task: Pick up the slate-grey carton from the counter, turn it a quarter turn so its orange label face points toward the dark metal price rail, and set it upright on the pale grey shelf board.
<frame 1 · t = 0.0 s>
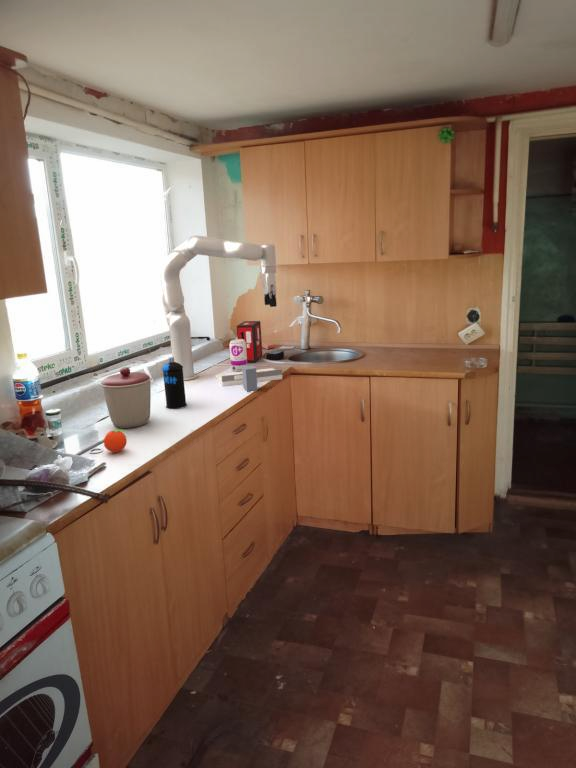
hand: (270, 305, 279), 31 cm above the worktop, tool pointing down, fingers open, 9 cm apart
canister: (131, 424, 207), on the worktop
clementine: (118, 451, 180), on the worktop
supplement can: (239, 370, 286), on the worktop
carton: (250, 389, 246), on the worktop
shelf board: (249, 378, 266), on the worktop
cleaning product box: (251, 360, 308), on the worktop
aerosol can: (176, 406, 227), on the worktop
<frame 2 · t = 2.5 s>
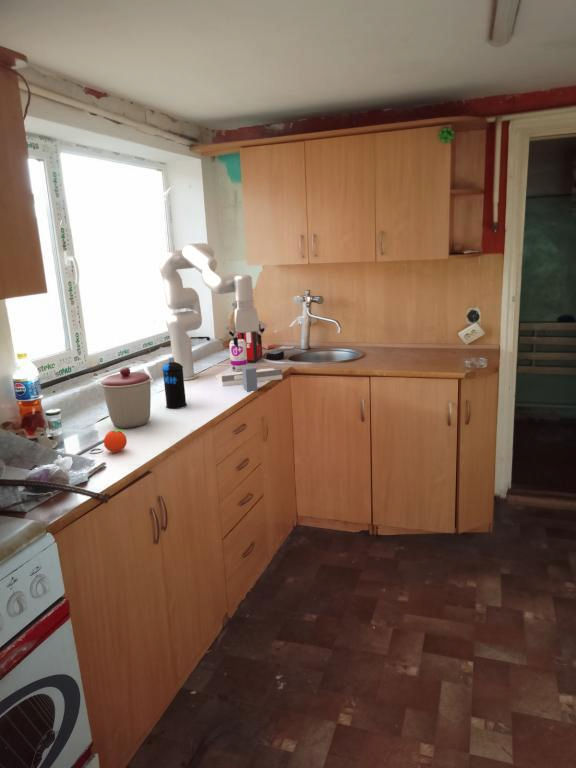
hand: (247, 345, 241), 20 cm above the worktop, tool pointing down, fingers open, 9 cm apart
nothing on the worktop moved.
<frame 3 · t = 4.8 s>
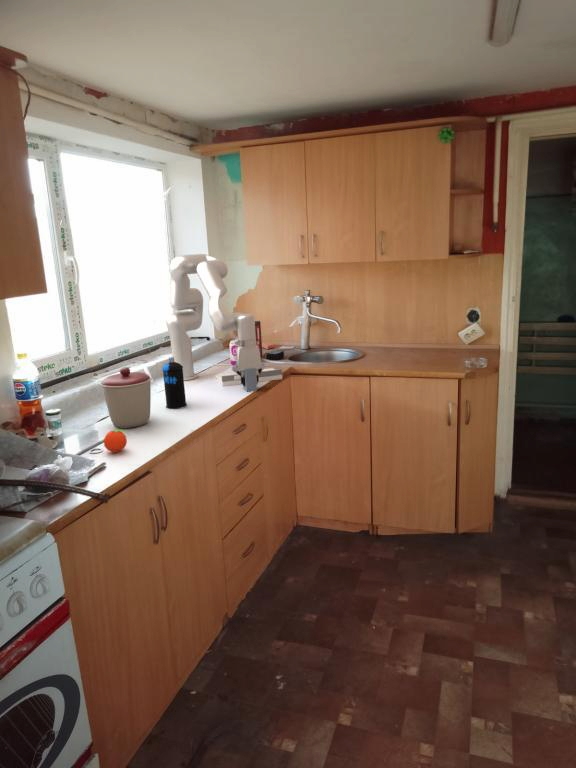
hand: (250, 384, 246), 2 cm above the worktop, tool pointing down, fingers closed on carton, 4 cm apart
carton: (250, 389, 246), on the worktop, touching gripper
everything else where it was.
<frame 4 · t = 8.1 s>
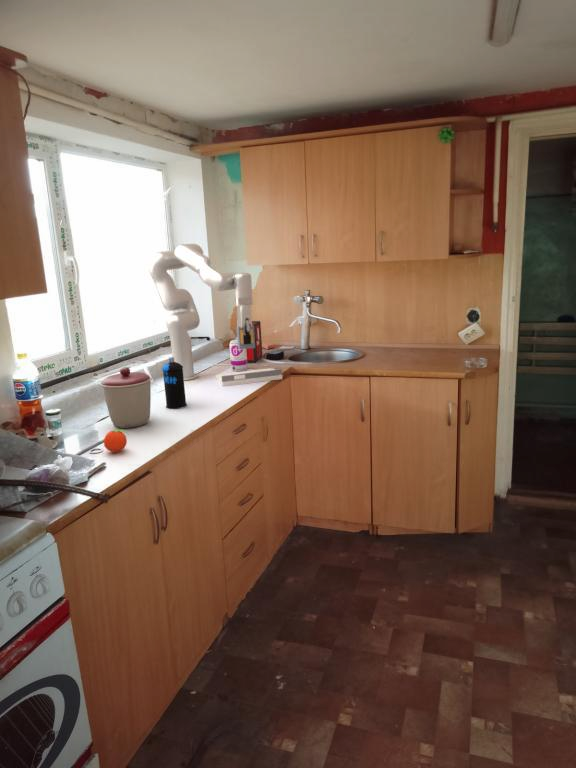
hand: (246, 342, 253), 19 cm above the worktop, tool pointing down, fingers closed on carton, 4 cm apart
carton: (246, 347, 253), point 16 cm above the worktop, touching gripper
everything else where it was.
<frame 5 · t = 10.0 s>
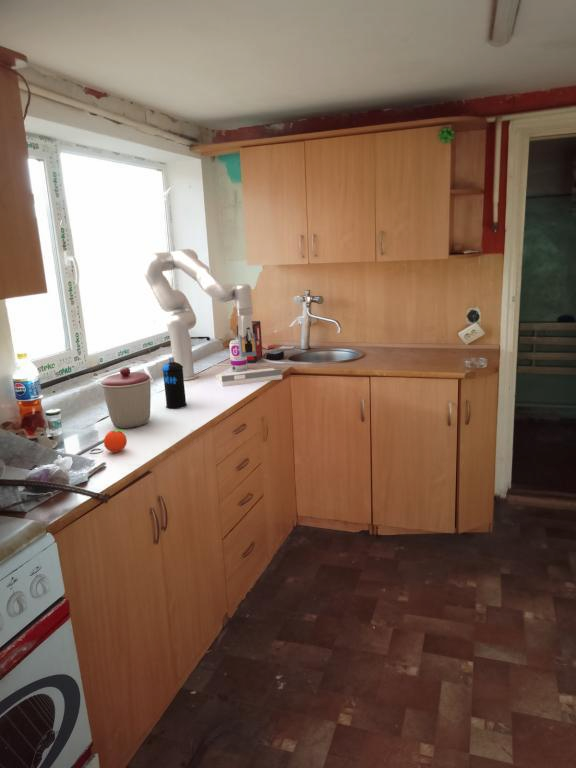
hand: (247, 350, 263), 13 cm above the worktop, tool pointing down, fingers closed on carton, 4 cm apart
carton: (248, 355, 263), point 11 cm above the worktop, touching gripper
everything else where it was.
when the fingers open (6 cm above the worktop, at t = 11.7 s): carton drops 1 cm, resting on shelf board.
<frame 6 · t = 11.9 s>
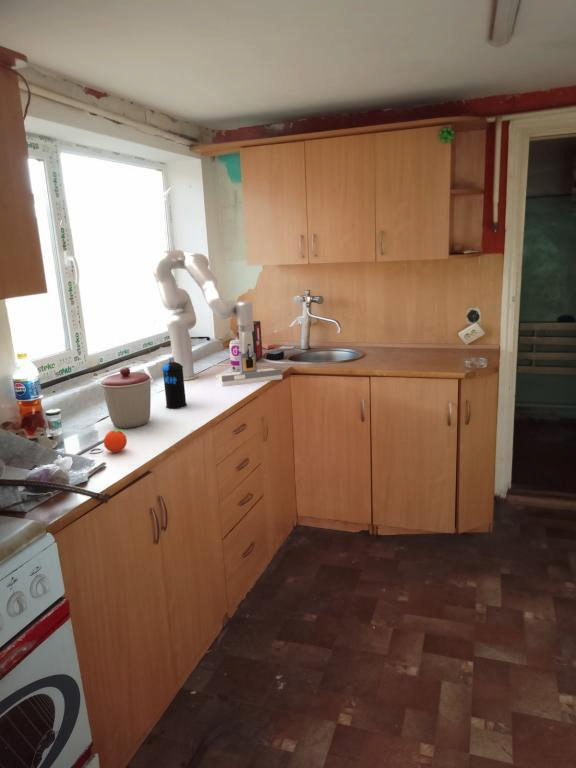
hand: (248, 365, 265), 6 cm above the worktop, tool pointing down, fingers open, 6 cm apart
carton: (248, 374, 266), point 2 cm above the worktop, touching shelf board
everything else where it was.
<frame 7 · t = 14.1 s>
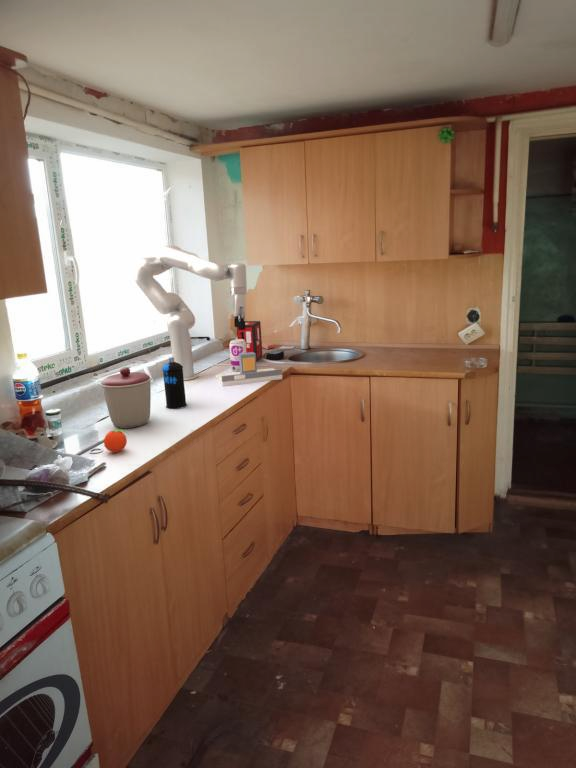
hand: (239, 328, 263), 24 cm above the worktop, tool pointing down, fingers open, 9 cm apart
nothing on the worktop moved.
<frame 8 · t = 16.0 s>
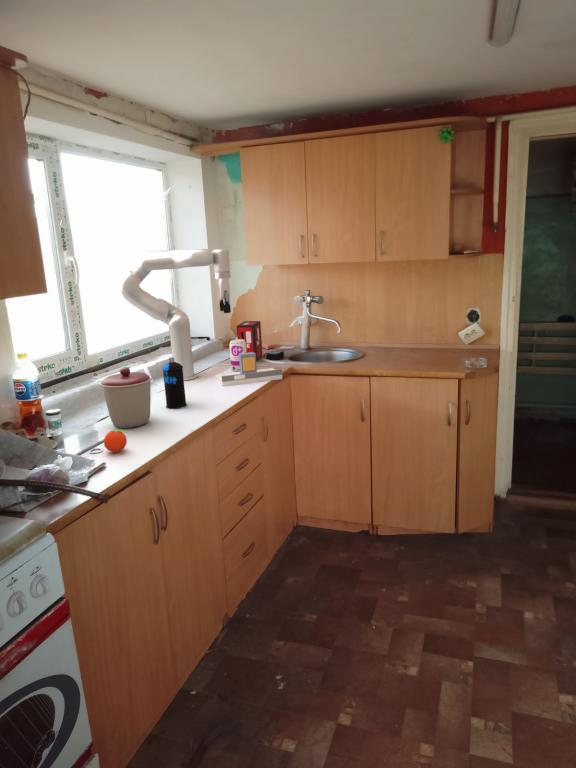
hand: (225, 311, 271), 30 cm above the worktop, tool pointing down, fingers open, 9 cm apart
nothing on the worktop moved.
at the end: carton inside the target area on the shelf board (0.1 cm from its centre), point 2.0 cm above the shelf board's base; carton tilted 0°; the gripper is holding nothing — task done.
